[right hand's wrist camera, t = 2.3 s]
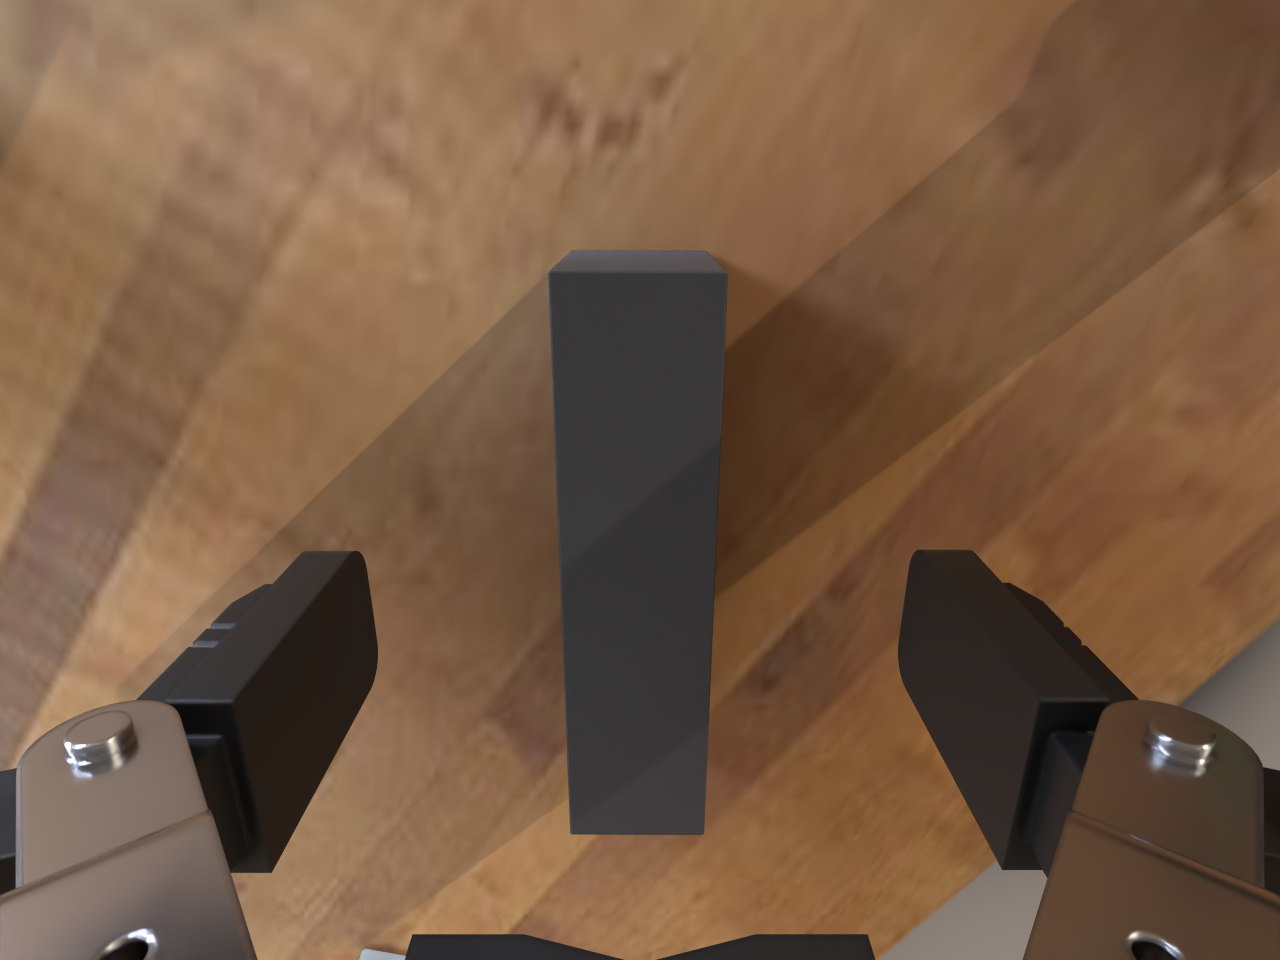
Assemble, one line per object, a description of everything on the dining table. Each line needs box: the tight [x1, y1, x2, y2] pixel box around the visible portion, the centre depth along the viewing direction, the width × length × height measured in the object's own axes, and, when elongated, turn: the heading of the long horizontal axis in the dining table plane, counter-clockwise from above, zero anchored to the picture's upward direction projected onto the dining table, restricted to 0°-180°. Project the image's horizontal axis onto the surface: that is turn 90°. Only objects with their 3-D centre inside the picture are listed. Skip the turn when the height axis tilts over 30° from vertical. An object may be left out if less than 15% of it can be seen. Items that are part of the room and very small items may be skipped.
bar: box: [548, 250, 728, 835], centre depth 33 cm, size 24×6×9 cm, turn 0°
